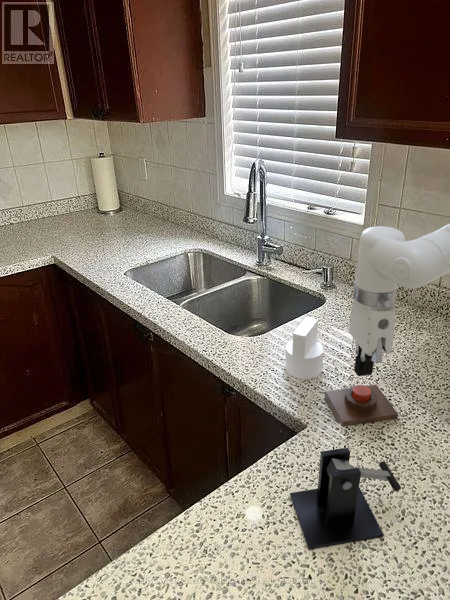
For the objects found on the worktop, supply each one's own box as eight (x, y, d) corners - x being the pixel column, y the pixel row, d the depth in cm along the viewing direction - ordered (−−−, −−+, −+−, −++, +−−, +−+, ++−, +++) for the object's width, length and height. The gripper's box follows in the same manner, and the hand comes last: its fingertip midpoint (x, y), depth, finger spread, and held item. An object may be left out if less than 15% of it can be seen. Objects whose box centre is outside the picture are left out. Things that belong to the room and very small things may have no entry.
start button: (365, 390, 96) (366, 383, 95) (372, 401, 93) (374, 394, 92) (349, 392, 96) (350, 385, 95) (356, 403, 92) (357, 396, 92)
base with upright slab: (293, 354, 116) (295, 313, 110) (327, 363, 111) (330, 321, 106) (279, 373, 109) (280, 330, 103) (314, 383, 105) (317, 339, 99)
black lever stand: (356, 488, 78) (364, 432, 72) (382, 540, 69) (394, 482, 63) (289, 498, 76) (292, 443, 71) (308, 553, 68) (313, 495, 62)
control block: (375, 392, 101) (377, 377, 99) (397, 422, 92) (399, 407, 90) (324, 398, 100) (325, 384, 98) (341, 430, 91) (343, 414, 89)
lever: (382, 469, 73) (388, 458, 72) (397, 494, 69) (404, 483, 68) (322, 462, 70) (328, 451, 69) (334, 488, 66) (340, 476, 65)
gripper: (414, 310, 77) (397, 394, 86) (375, 275, 90) (364, 351, 99) (373, 314, 76) (360, 398, 85) (340, 278, 89) (332, 354, 98)
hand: (362, 373), depth 92 cm, fingers closed
